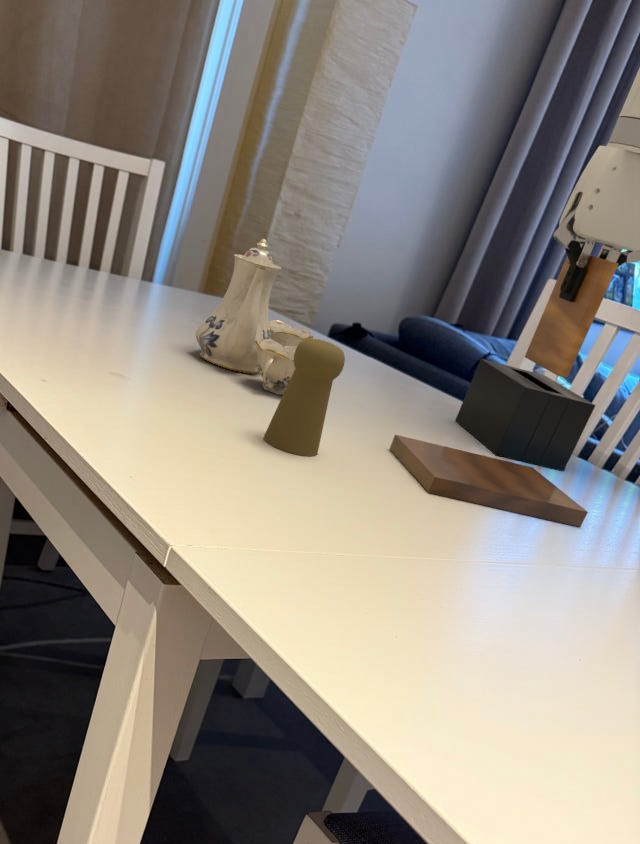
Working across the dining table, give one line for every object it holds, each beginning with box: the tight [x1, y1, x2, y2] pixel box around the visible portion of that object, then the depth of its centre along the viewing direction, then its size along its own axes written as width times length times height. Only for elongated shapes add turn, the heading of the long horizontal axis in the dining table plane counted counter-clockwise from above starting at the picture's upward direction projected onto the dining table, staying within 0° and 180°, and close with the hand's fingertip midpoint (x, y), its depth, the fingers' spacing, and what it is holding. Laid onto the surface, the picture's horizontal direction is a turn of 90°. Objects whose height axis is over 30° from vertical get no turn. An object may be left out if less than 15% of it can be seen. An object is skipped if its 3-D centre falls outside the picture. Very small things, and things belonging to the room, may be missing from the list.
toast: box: [524, 254, 619, 378], centre depth 119 cm, size 2×10×14 cm, turn 5°
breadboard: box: [389, 434, 589, 528], centre depth 104 cm, size 18×14×2 cm
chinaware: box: [195, 238, 314, 396], centre depth 124 cm, size 28×17×17 cm, turn 179°
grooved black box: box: [454, 358, 596, 472], centre depth 125 cm, size 11×15×9 cm
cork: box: [263, 338, 346, 457], centre depth 96 cm, size 6×6×11 cm
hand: (574, 300), depth 118 cm, fingers closed on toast, 1 cm apart
